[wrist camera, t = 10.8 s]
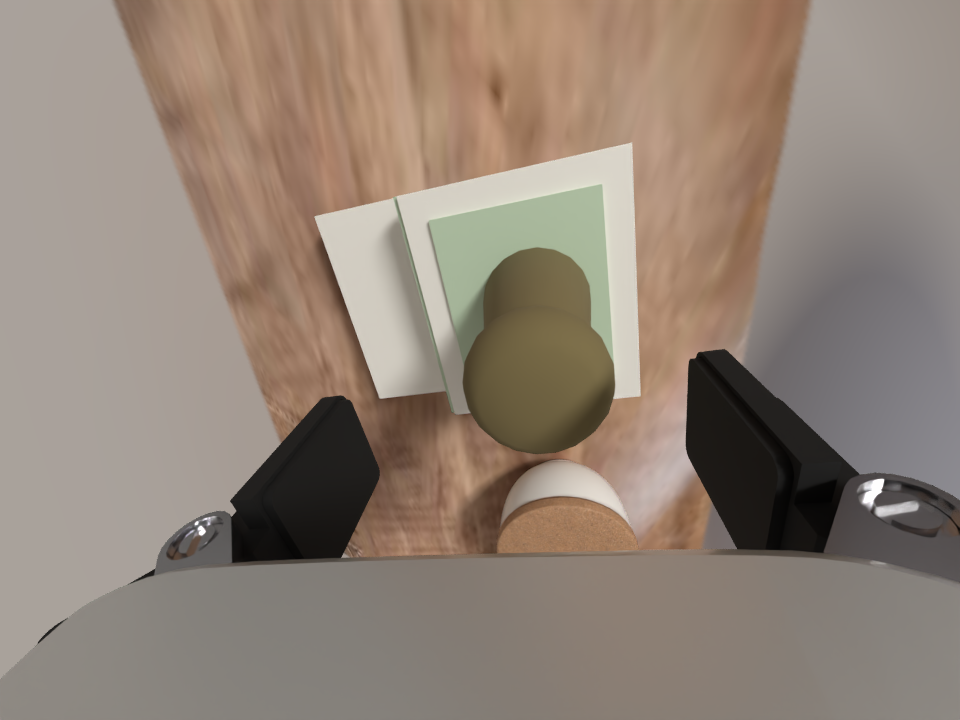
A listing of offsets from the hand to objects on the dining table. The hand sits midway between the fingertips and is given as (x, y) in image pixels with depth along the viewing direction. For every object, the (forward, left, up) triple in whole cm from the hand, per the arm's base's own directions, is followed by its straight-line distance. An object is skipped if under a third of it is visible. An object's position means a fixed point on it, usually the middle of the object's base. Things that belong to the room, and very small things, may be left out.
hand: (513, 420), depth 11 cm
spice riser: (+1, -3, -19) cm, 19 cm away
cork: (0, +1, -12) cm, 12 cm away
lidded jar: (+21, 0, -19) cm, 28 cm away
